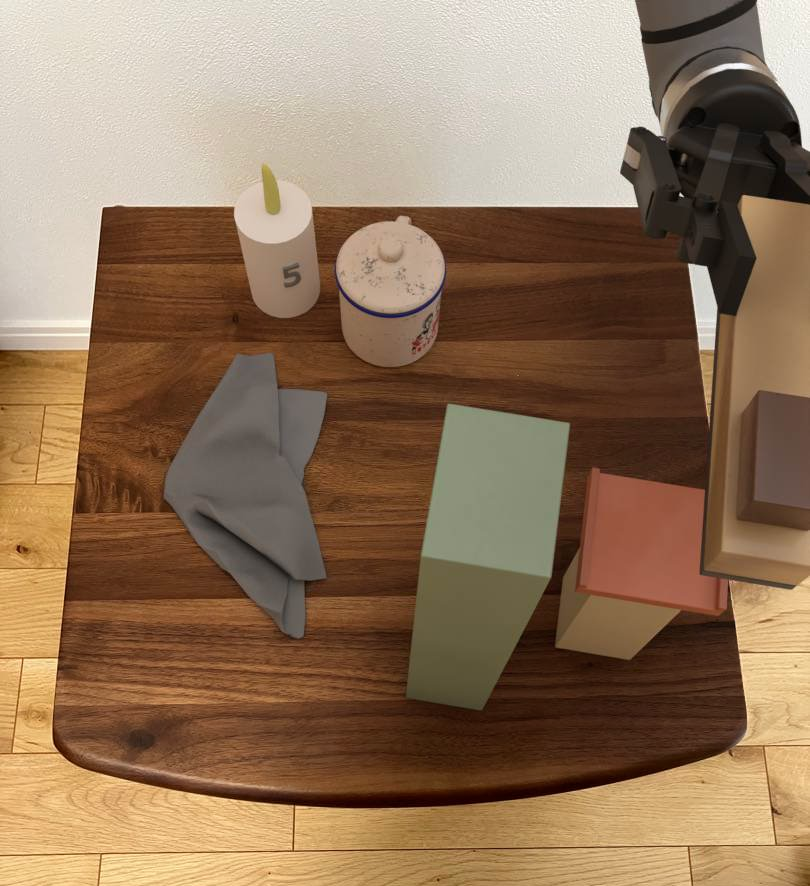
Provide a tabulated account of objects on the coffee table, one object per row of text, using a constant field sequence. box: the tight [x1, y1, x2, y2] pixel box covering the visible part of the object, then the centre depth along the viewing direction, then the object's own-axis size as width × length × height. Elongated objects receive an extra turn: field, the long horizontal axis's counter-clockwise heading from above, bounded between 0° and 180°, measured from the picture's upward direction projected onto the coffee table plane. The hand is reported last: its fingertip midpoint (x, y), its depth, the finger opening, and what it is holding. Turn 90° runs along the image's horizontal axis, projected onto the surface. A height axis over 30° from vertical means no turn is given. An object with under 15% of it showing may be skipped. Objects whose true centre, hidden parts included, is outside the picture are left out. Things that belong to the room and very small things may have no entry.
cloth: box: [163, 352, 328, 640], centre depth 79 cm, size 26×14×2 cm, turn 0°
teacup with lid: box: [334, 215, 447, 368], centre depth 81 cm, size 12×9×12 cm
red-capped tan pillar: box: [554, 467, 729, 661], centre depth 68 cm, size 9×8×19 cm
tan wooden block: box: [699, 195, 810, 591], centre depth 42 cm, size 4×18×5 cm, turn 170°
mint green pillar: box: [405, 403, 571, 712], centre depth 60 cm, size 6×8×33 cm
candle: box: [233, 163, 321, 319], centre depth 80 cm, size 6×6×15 cm
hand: (792, 294), depth 41 cm, fingers closed on tan wooden block, 4 cm apart
